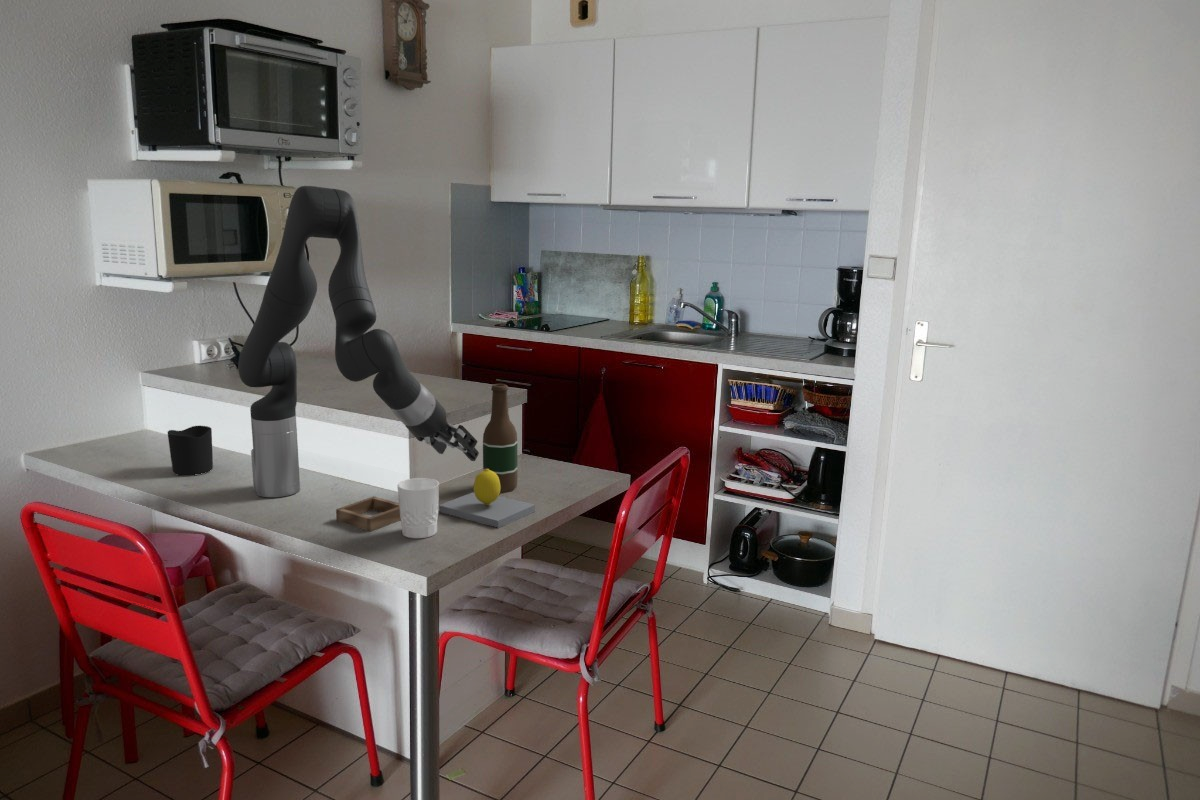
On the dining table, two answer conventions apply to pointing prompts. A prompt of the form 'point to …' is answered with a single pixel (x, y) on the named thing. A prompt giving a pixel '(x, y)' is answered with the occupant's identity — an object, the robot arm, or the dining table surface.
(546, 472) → the dining table surface
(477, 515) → the gray board
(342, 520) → the walnut collar
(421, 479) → the white cup
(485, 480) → the lemon
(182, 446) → the pen holder
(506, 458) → the beer bottle
